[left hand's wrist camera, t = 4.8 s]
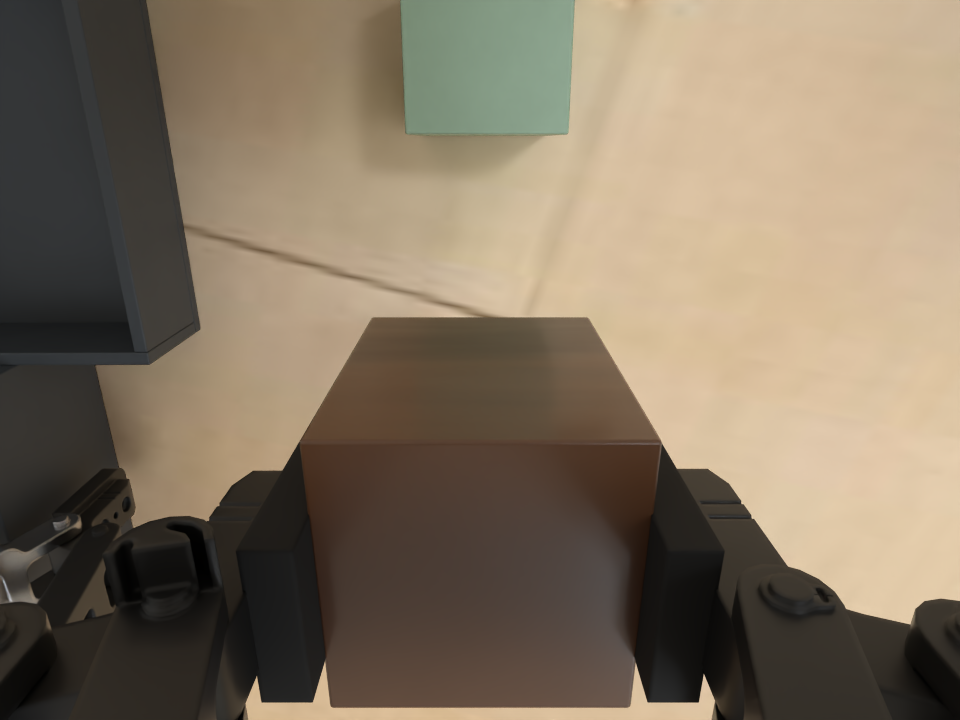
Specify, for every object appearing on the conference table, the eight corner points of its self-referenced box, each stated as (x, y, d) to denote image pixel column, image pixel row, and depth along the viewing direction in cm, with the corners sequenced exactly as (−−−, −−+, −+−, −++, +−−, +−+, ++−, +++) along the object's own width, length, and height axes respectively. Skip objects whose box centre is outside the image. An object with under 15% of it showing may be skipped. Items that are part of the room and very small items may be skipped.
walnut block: (371, 316, 14) (297, 441, 8) (589, 316, 14) (663, 441, 8) (383, 502, 16) (329, 709, 10) (576, 502, 16) (631, 709, 10)
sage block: (416, -9, 22) (397, -59, 17) (551, -8, 22) (577, -58, 17) (420, 135, 24) (405, 134, 18) (546, 135, 24) (568, 134, 18)
